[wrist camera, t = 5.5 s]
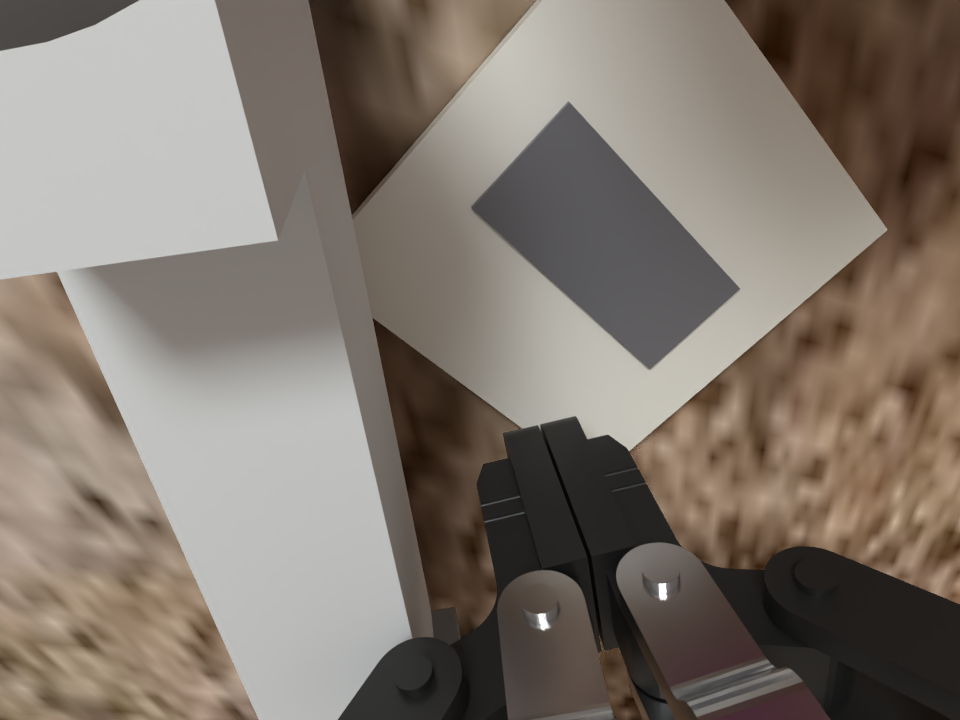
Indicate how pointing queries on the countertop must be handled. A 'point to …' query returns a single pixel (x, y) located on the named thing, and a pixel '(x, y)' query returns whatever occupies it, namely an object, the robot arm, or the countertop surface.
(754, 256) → the label tile
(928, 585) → the countertop surface
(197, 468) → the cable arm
